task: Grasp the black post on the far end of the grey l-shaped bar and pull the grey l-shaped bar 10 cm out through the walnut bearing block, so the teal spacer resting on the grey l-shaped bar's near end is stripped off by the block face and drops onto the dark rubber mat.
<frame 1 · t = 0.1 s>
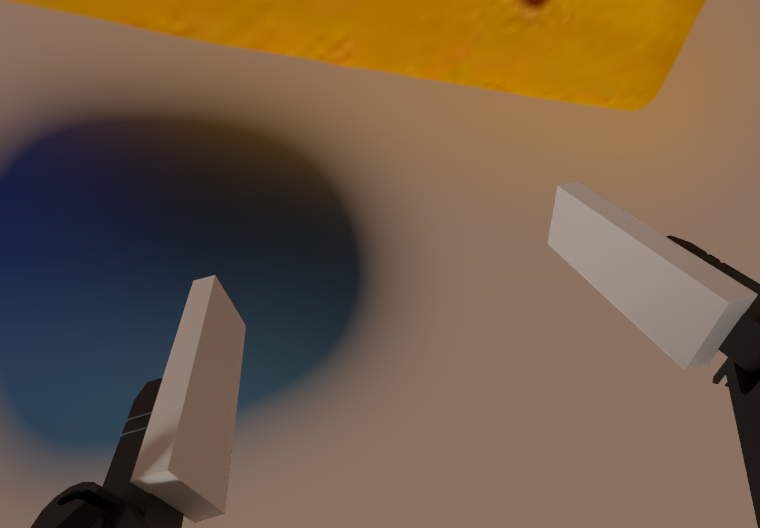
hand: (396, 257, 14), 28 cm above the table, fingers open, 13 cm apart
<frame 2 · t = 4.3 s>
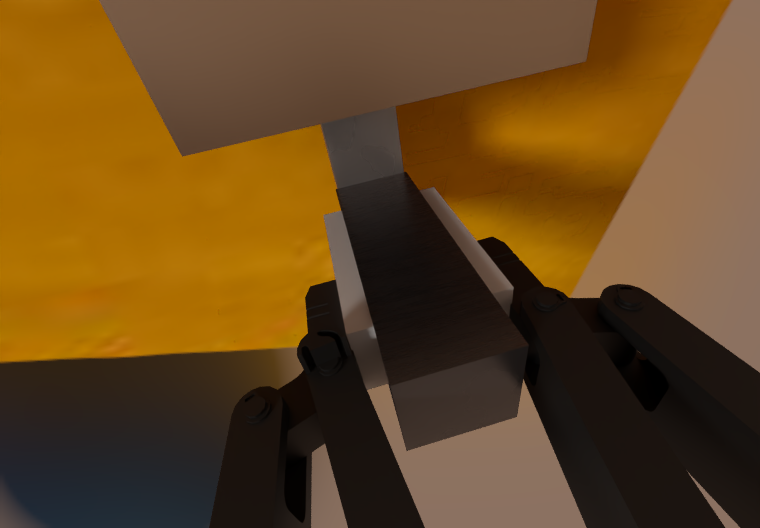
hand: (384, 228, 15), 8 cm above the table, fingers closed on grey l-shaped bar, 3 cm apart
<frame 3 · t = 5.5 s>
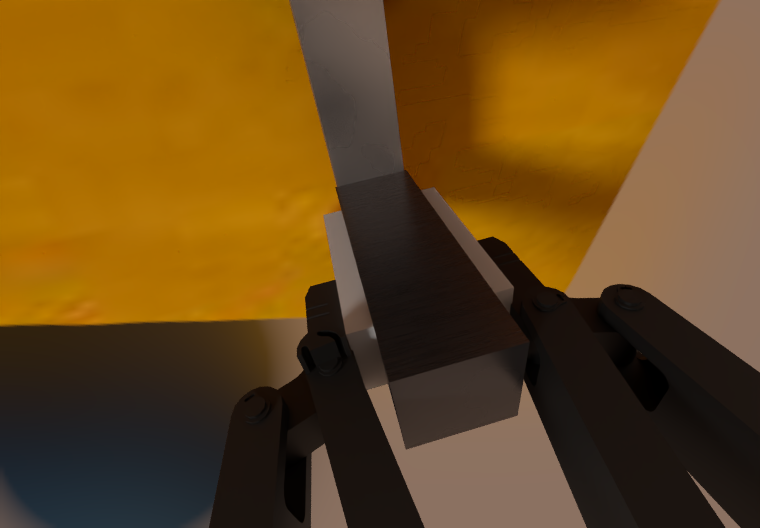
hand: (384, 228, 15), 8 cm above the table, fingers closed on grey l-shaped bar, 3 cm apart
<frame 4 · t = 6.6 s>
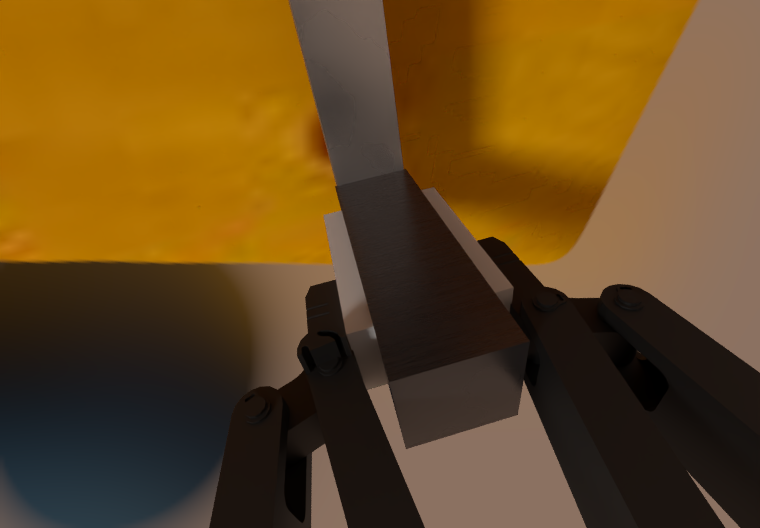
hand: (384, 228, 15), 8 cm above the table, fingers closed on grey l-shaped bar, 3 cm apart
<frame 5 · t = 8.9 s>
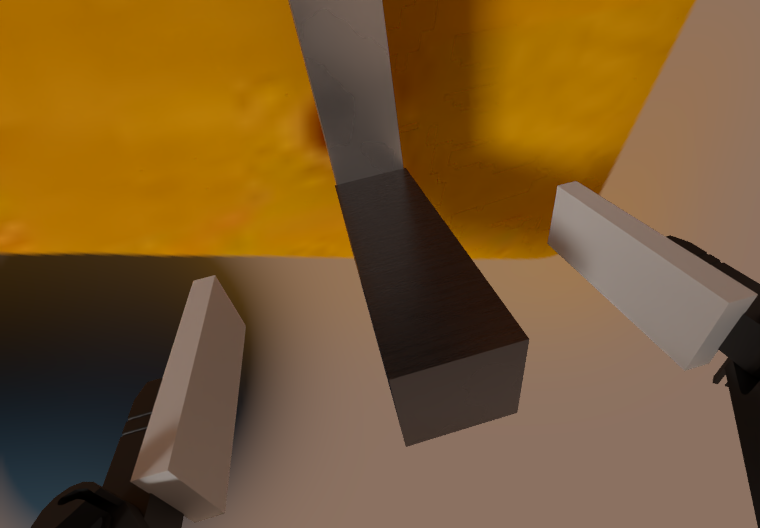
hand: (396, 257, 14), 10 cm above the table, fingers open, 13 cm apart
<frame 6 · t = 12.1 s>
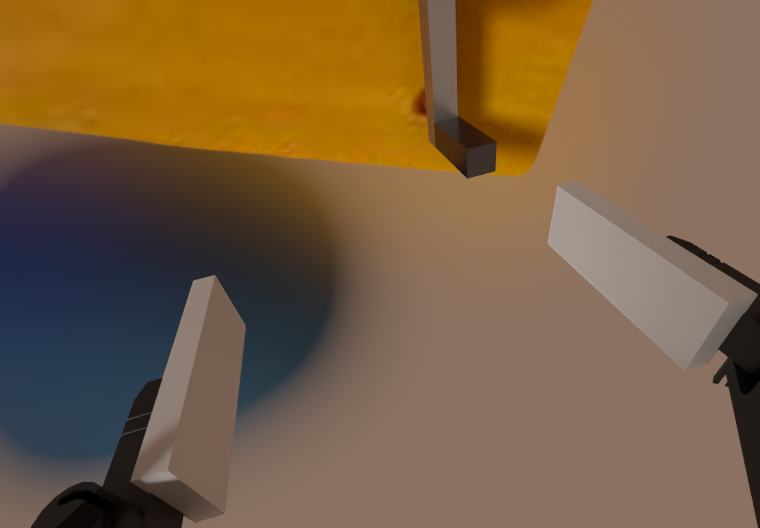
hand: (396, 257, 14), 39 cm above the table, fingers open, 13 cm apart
grey l-shaped bar: (454, 17, 34), point 10 cm above the table, slide at 9.8 cm
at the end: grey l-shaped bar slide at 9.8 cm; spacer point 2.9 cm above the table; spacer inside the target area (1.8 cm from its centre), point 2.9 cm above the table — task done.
